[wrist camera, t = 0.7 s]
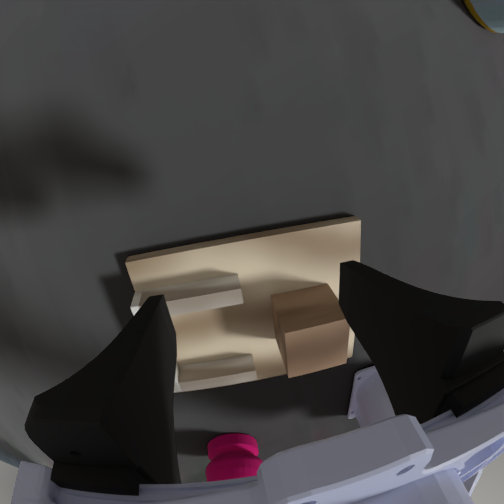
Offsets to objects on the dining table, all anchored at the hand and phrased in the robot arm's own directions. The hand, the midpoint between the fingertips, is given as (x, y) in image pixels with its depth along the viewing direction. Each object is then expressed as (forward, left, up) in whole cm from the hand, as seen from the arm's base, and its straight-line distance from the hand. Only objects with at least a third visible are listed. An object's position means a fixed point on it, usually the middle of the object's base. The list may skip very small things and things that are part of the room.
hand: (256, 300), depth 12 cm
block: (-8, -4, -9) cm, 13 cm away
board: (-8, -1, -10) cm, 13 cm away
